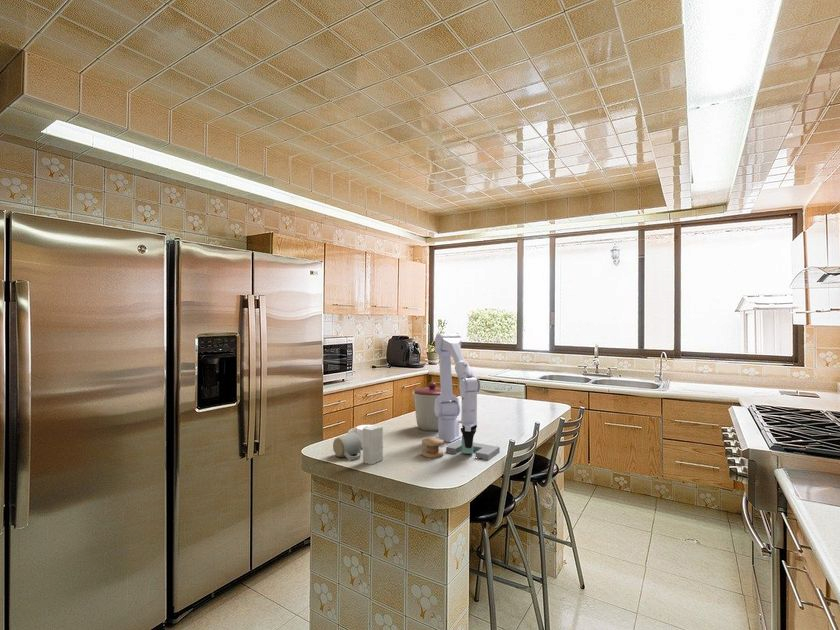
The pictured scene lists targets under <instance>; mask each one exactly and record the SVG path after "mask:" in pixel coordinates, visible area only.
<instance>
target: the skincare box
mask: <svg viewBox="0 0 840 630" xmlns="http://www.w3.org/2000/svg"><path fill="white" fill-rule="evenodd" d="M372 425H373V426H369V427H366V428H363V447H362V463H364V462H365V463H364V464H367V463H368V465H370V464H371V465H373V464H376V462H377V463H378V462H382V461H383V460H384V457H383V456H384V455H383V454H384V451H383V450H384V449H383V448H384V447H383V444H384V443H383V442H384V441H383V440H384V439H383V438H384V437H383V435H384V433H383V431H384V429H383V428H384V427H383V426H380V425H376V424H372Z"/></svg>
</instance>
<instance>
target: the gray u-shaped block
mask: <svg viewBox="0 0 840 630" xmlns="http://www.w3.org/2000/svg"><path fill="white" fill-rule="evenodd" d="M500 449H501V448H500V446H498V445H497V446H496V445H489V444H485V443H478V442H474V441H473V452H474V451H476V452H475V458H476V457H477V458H476V459H479V458H482V459H481V460H484V459H486V460H485V461H490V460H491V459H492V458H494V457H495V456H497V455H498V454H499V453H500ZM461 450H462V439H457V441H456V440H455V442H454V441H453V442H452V443H451V444H449V445H447V446H446V448H445V453H447V452H448V453H447V454H452V453H453V454H452V455H456V454H458V453H460V452H462V451H461ZM489 459H490V460H489Z"/></svg>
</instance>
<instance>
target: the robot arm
mask: <svg viewBox="0 0 840 630" xmlns="http://www.w3.org/2000/svg"><path fill="white" fill-rule="evenodd" d="M462 341H463V339H462V335H460V333H457V332H456V333H441V332H440V333H439V332H438V333H437V334H436V335H435V337H434V349H435V353H436V355H438V363H439V364H438V365H439V367H438V368H439V382H440V388H441V394H440V395H439V396H438V397H437V398H436V399H435V405H434V412H435V415H436V416H437V417H438V430H437V433H438V434H437V436H436V437H435V438H438V439H442V440H443V441H444V442H448V443H454V441H456V440H459V439H460V438H462V435H460V432H461V434H463V437H464V442H465V447H466V448H471V447H472V443H473V442H474V436H475V434H476V432H477V427H478V392H479V391H480V389H481V383H480V382H481V381H480V379H479V377H478V376H477V375H475V374H474V373H473V371H472V369H471V367H470V364H469V362H468V361H466V360H465V358H464V355H463V352H462V348H461V347H462ZM451 357H452V359H453V361H454V363H455V366H454V370H455V373H456V375H457V378H458V382H459V383H458V389H459V395H460V397H461V405H460V401H459V398H458V397H457V396H456V395H455V394H453V378H452V377H453V375H452V359H451ZM449 400H450V402H442V401H449ZM460 413H461V419H459V418H458V416H459V415H460ZM460 424H461V427H460Z"/></svg>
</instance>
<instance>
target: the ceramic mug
mask: <svg viewBox="0 0 840 630" xmlns="http://www.w3.org/2000/svg"><path fill="white" fill-rule="evenodd" d="M332 447H333V448H332V449H333V452H334V453H335V456H337V457H338V458H344V457H345V458H347V459H348V460H351V461H356V459H357V460H359V459H360V458H361V456H362V447H361V440H360V438H359V436H358V435H357V434H356V433H354V432H353V433H349V434H348V433H346V434H344V435H340V436H338V437H336V438H335V439H334V440H333V443H332ZM356 454H358V455H356ZM353 455H354V456H353Z"/></svg>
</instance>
